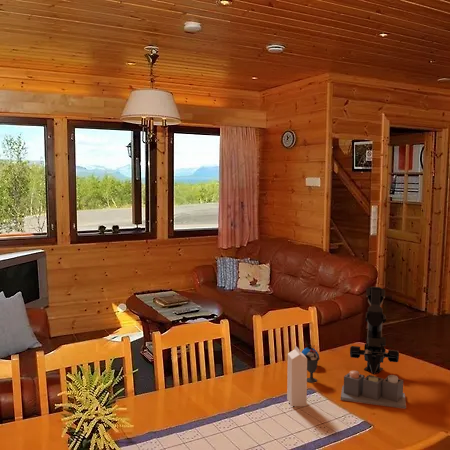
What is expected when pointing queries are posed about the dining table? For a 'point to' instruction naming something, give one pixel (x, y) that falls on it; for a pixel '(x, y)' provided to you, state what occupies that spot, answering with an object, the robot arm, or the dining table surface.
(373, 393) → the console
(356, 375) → the salmon orange ball
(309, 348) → the ornament
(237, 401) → the dining table surface
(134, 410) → the dining table surface
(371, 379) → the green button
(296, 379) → the milk
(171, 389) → the dining table surface
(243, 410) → the dining table surface
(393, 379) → the white rounded dome
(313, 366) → the sundae
